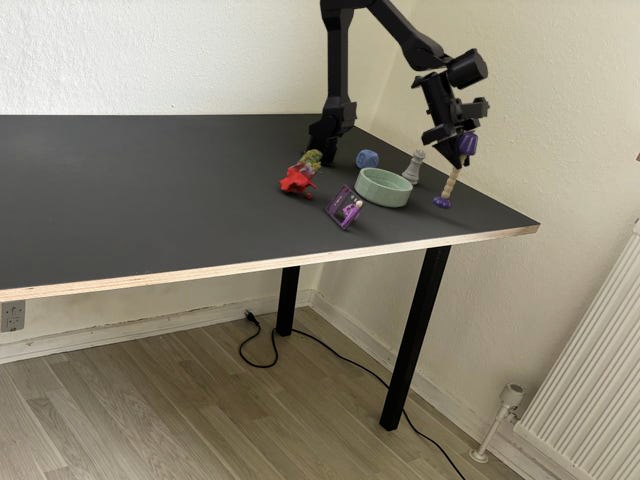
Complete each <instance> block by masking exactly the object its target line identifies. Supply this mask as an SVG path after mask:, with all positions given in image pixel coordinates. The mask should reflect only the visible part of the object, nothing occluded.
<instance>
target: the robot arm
mask: <svg viewBox="0 0 640 480" xmlns="http://www.w3.org/2000/svg"><path fill="white" fill-rule="evenodd" d="M361 9H367V10H368V11H369V12H370V14H371V15H372V16H373V17H374V18H375V19H376V20H377V21H378V23H379V24H380V25H381V26H382V27H383V28H384V29H385V30H386V31H387V32H388V34H389V35H391V37H392V38H393V39H394V40H395V41H396V43H397V44H398V45H399V47H400V49H401V52H402V55H403V57H404V59H405V61H406V62H407V64H408V66H409V67H410V68H411V69H412V71H415V72H420V73H421V72H429V71H431V72H430V73H427V74H425V75H423V76H422V75H415V76H414V80H413V82H412V83H411V85H410V89H411V90H415V89H420V88H421V90H422V94H423V96H424V99H425V102H426V105H427V108H428V109H426V110H425V113H426V115H427V116H430V117H431V118H432V123H433V125H434V127H432V128H429V129H428V130H427V129H426V130H425V131H423V132H422V134H421V137H420V140H421V143H422V145H423V147H426V146H428V145H431V147H432V148H433V149H435V150H436V151H437V152H438V153H439V154H440V155H441V156H443V157H444V158H445V160H446V161H448V162H449V163H450V164H451V165H452V167H453V166H454V167H455V168H456V169H457V170H459V169H461V170H462V169H463V167H465V168H467V167H470V165H471V159H470V158H471V156H468V155H467V157H466V159H465V160H464V164H463V165H462V161H461V156H460V151H459V146H458V142H459V140H460V138H461V137H462V136H463V134H464V133H465V132H471V133H474V134H475V133H476V129H477V128H480V127H482V126H481V122H480V120H481V119H484V118H488V111H489V110H490V108H491V105H490V104H489V100H486V98H485V96H478V97H474V99H473V100H472V102H464V103H463V101H462V99H461V98H460V97H456V96H455V92H454V89H457V90H460V91H462V90H464V89H467V88H469V87H472V86H473V85H475V84H477V83H480V82H482V81H484V80H486V79H488V77H489V69H488V65H487V62H486V61H485V60H484V58H483V57H482V55H481V54H480V52H479V51H478V48H477V47H472V48H470V49H468V50H467V51H465V52H464V53H462V54H460V55H457V56H456V57H452V56H451V55H449V54H448V53H446V52H445V50H444V48H443V46H442V45H441V44H439V43H438V42H437V41H435V40H434V39H433V38H431V37H429V36H428V35H427V34H424V33H422V32H420V30H418V29H416V27H415V26H414V25H413V24H412V23H411V21H409V19H407V18H406V17H405V15H404V14H403V13H402V12H401V11H400V9H398V7H396V5H395V4H394V3H393V2H392V1H391V0H319V11H320V16H321V20H322V23H323V25H324V27H325V30H326V39H327V42H326V47H327V48H326V49H327V51H326V52H327V53H326V54H327V57H326V59H327V62H326V64H327V69H326V70H327V95H326V99H325V102H324V105H323V107H322V110H321V118H320V119H319V120H317V121H315V122H313V123H312V124H309V126H308V136H310V137H309V140H308V142H307V146H306V149H305V150H303V155H304V154H306V153H307V152H308V151H310V150H317V151H319V152H321V153H322V154H323V156H322V158H321V159H320V160H319V162H321V164H320V166H324V167H325V166H326V167H332V163H333V162H334V160H335V157H336V155H337V151H338V148H339V147H338V142H339V140H338V139H340V138H342V137H343V136H344V135H345V134H347V133H349V132H350V131H351V130H352V129H353V128H354V126H355V124H356V120H358V115H357V108H358V101H352V100H351V98H350V95H349V29H350V27H351V25H352V21H353V18H354V15H355V10H361ZM441 69H445V70H443V71H441V72H439V73H438V72H437V71H434V70H441ZM435 142H436V143H435ZM433 143H434V144H433Z"/></svg>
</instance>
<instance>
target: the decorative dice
mask: <svg viewBox="0 0 640 480" xmlns="http://www.w3.org/2000/svg"><path fill="white" fill-rule="evenodd" d="M379 161H380V160H379V155H378V153H377V152H375V151H373V150H370V149H363V150H361V151H360V152H359V153H358V154H357V156H356V159H355V163H356V167H358V169H360V170H361V169H364V168H376V167H378V164H379Z"/></svg>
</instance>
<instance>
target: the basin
mask: <svg viewBox="0 0 640 480" xmlns="http://www.w3.org/2000/svg"><path fill="white" fill-rule="evenodd" d="M401 176H402V175H399V174H397V173H394V172H392V171H389V170H385V169H381V168H376V167H375V168H364V169H360V171H359V174H358V176H357V178H356V181H355V184H354V190H355V191H356V192H357V195H358V196H359V197H362V198H363V199H364V200H367V201H368V202H370V203H373V204H375V205H378V206H382V207H386V208H387V207H388V208H399V207H404V206H406V205H407V203H408V200H409V197H410V195H411V193H412V191H413V189H414V185H412V184H411V183H410V182H409V181H407V180H406V179H404V178H403V177H401Z"/></svg>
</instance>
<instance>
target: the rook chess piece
mask: <svg viewBox="0 0 640 480" xmlns="http://www.w3.org/2000/svg"><path fill="white" fill-rule="evenodd" d="M425 159H426V152H425V150H422V151H421V149H415V151H414V152H412V158H411V161H410V163H409V165H408V167H407V168H406V169H405V171H403V172H402V173H401V175H400V176H401V177H403V178H404V179H406V180H407V181H409V182H410V183H411V184H412V186H415V185H417V184H418V181H419V180H420V179H419V178H420V177H419V172H420V167H421V165H422V164H423V160H425Z"/></svg>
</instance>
